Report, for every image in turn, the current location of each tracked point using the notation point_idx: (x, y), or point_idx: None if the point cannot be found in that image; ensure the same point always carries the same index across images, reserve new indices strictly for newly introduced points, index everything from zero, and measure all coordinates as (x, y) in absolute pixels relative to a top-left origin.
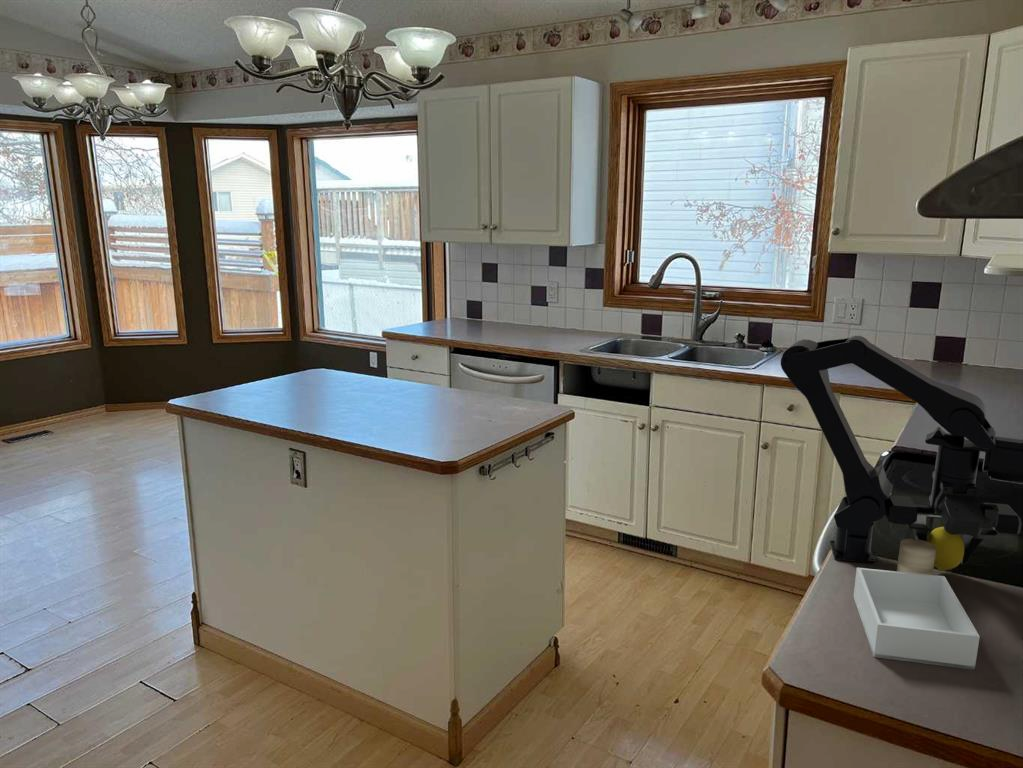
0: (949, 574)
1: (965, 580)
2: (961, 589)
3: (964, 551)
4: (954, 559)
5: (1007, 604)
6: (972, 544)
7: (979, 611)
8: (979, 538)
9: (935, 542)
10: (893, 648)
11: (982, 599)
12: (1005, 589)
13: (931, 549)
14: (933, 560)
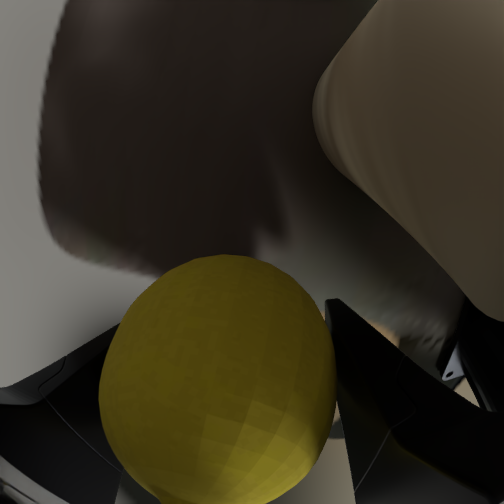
0: None
1: (157, 250)
2: (173, 159)
3: None
4: (167, 275)
5: (51, 118)
6: (59, 375)
7: (136, 9)
8: (7, 393)
9: (300, 384)
10: None
11: (109, 107)
12: (56, 227)
13: (468, 15)
14: (374, 5)
